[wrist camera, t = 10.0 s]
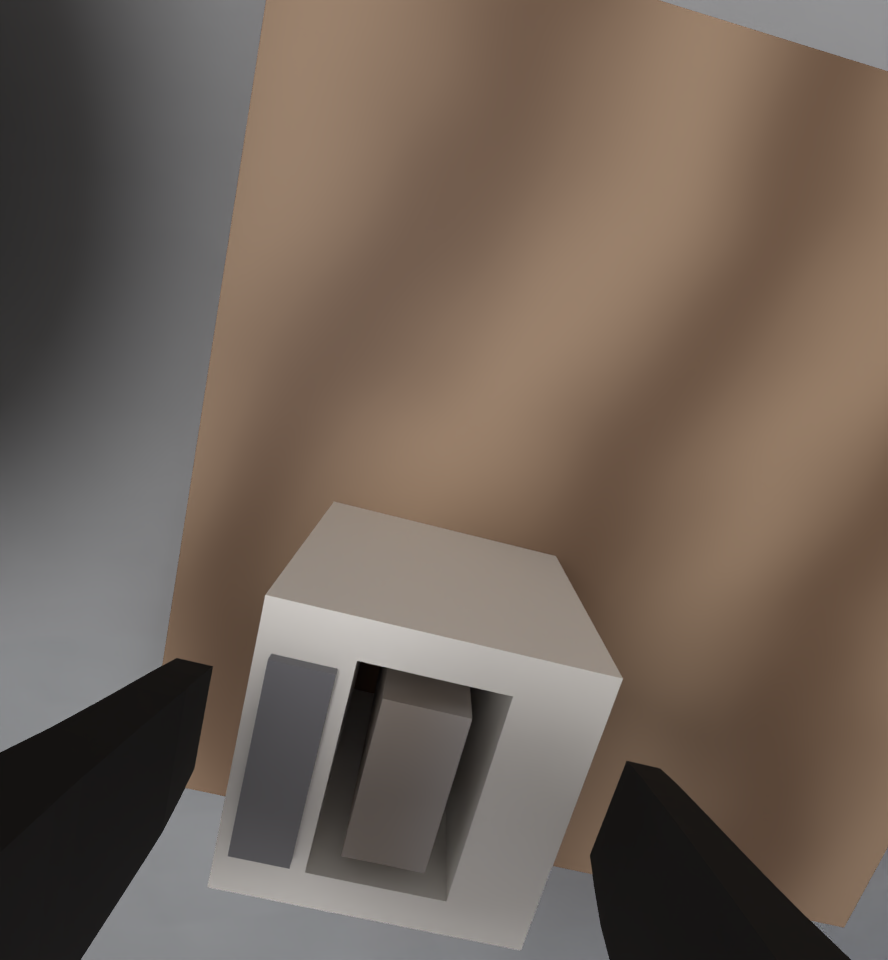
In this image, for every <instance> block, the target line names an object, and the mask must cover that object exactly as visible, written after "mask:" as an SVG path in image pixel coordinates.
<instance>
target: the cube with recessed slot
mask: <svg viewBox="0 0 888 960" xmlns="http://www.w3.org/2000/svg"><path fill="white" fill-rule="evenodd" d="M360 662H365V663H369V664H373V665H378V666H382V667H387V668H391V669H395V670H400V671H404V672H408V673H413V674H417V675H421V676H426V677H430V678H434V679H439V680H443V681H448V682H452V683H456V684H461V685H465V686H469V687H470V694H471V707H472V722H471V725H470V728H469V732H468V735H467V738H466V741H465V745H464V748H463V751H462V754H461V758H460V761H459V764H458V767H457V770H456V774H455V777H454V780H453V783H452V787H451V790H450V793H449V796H448V800H447V803H446V806H445V809H444V812H443V816H442V819H441V822H440V825H439V829H438V832H437V835H436V838H435V842H434V845H433V848H432V851H431V854H430V858H429V861H428V864H427V867H426V871H425V873H420V872H415V871H411V870H406V869H401V868H396V867H391V866H387V865H382V864H377V863H372V862H367V861H363V860H358V859H353V858H348V857H343V856H341V854H342V849H343V844H344V839H345V835H346V830H347V825H348V820H349V815H350V810H351V805H352V800H353V795H354V790H355V786H356V781H357V776H358V771H359V766H360V761H361V756H362V751H363V746H364V742H365V737H366V732H367V727H368V722H369V717H370V712H371V707H372V702H373V697H374V693H370V692H365V691H361V690H356V689H354V687H355V683H356V679H357V675H358V671H359V667H360ZM622 680H623V678H622V676H621V674H620V672H619V670H618V669H617V667H616V665H615V663H614V661H613V660H612V658H611V656H610V654H609V652H608V650H607V649H606V647H605V645H604V643H603V641H602V639H601V638H600V636H599V634H598V632H597V630H596V628H595V627H594V625H593V623H592V621H591V619H590V617H589V616H588V614H587V612H586V610H585V608H584V607H583V605H582V603H581V601H580V599H579V597H578V596H577V594H576V592H575V590H574V588H573V586H572V585H571V583H570V581H569V579H568V577H567V575H566V574H565V572H564V570H563V568H562V566H561V564H560V563H559V561H558V559H557V557H556V556H553V555H549V554H545V553H541V552H537V551H533V550H529V549H525V548H521V547H517V546H513V545H509V544H505V543H501V542H497V541H492V540H488V539H484V538H480V537H476V536H472V535H468V534H464V533H460V532H456V531H452V530H448V529H444V528H440V527H436V526H431V525H427V524H423V523H419V522H415V521H411V520H407V519H403V518H399V517H395V516H391V515H387V514H383V513H379V512H375V511H371V510H366V509H362V508H358V507H354V506H350V505H346V504H342V503H338V502H333V504H332V505H331V506H330V508H329V509H328V510H327V512H326V513H325V514H324V516H323V517H322V518H321V520H320V521H319V523H318V524H317V525H316V527H315V528H314V529H313V531H312V532H311V533H310V535H309V536H308V538H307V539H306V540H305V542H304V543H303V544H302V546H301V547H300V548H299V550H298V551H297V552H296V554H295V555H294V557H293V558H292V559H291V561H290V562H289V563H288V565H287V566H286V567H285V569H284V570H283V571H282V573H281V574H280V576H279V577H278V578H277V580H276V581H275V582H274V584H273V585H272V586H271V588H270V589H269V591H268V592H267V593H266V595H265V599H264V604H263V609H262V614H261V619H260V624H259V629H258V634H257V639H256V645H255V650H254V655H253V660H252V665H251V670H250V675H249V680H248V685H247V690H246V695H245V700H244V705H243V710H242V715H241V720H240V725H239V730H238V736H237V741H236V746H235V751H234V756H233V761H232V766H231V771H230V776H229V781H228V786H227V791H226V796H225V801H224V806H223V811H222V816H221V821H220V827H219V832H218V837H217V842H216V847H215V852H214V857H213V862H212V867H211V872H210V877H209V882H208V888H213V889H218V890H223V891H228V892H233V893H238V894H243V895H248V896H253V897H258V898H263V899H268V900H273V901H278V902H283V903H288V904H292V905H297V906H302V907H307V908H312V909H317V910H322V911H327V912H332V913H337V914H342V915H347V916H352V917H357V918H362V919H367V920H372V921H377V922H382V923H386V924H391V925H396V926H401V927H406V928H411V929H416V930H421V931H426V932H431V933H436V934H441V935H446V936H451V937H456V938H461V939H466V940H471V941H476V942H481V943H485V944H490V945H495V946H500V947H505V948H510V949H515V950H520V951H521V949H522V947H523V944H524V941H525V939H526V936H527V933H528V931H529V928H530V925H531V923H532V920H533V917H534V915H535V912H536V909H537V907H538V904H539V901H540V899H541V896H542V893H543V891H544V888H545V885H546V883H547V880H548V877H549V875H550V872H551V869H552V867H553V864H554V861H555V859H556V856H557V853H558V851H559V848H560V845H561V843H562V840H563V837H564V835H565V832H566V829H567V827H568V824H569V821H570V819H571V816H572V813H573V811H574V808H575V805H576V803H577V800H578V797H579V795H580V792H581V789H582V787H583V784H584V781H585V779H586V776H587V773H588V771H589V768H590V765H591V763H592V760H593V757H594V755H595V752H596V749H597V747H598V744H599V741H600V739H601V736H602V733H603V731H604V728H605V725H606V723H607V720H608V717H609V715H610V712H611V709H612V707H613V704H614V701H615V699H616V696H617V693H618V691H619V688H620V685H621V683H622Z"/></svg>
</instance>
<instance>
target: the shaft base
mask: <svg viewBox="0 0 888 960" xmlns="http://www.w3.org/2000/svg"><path fill="white" fill-rule="evenodd" d="M333 502H338V503H342V504H346V505H350V506H354V507H358V508H362V509H366V510H371V511H375V512H379V513H383V514H387V515H391V516H395V517H399V518H403V519H407V520H411V521H415V522H419V523H423V524H427V525H431V526H436V527H440V528H444V529H448V530H452V531H456V532H460V533H464V534H468V535H472V536H476V537H480V538H484V539H488V540H492V541H497V542H501V543H505V544H509V545H513V546H517V547H521V548H525V549H529V550H533V551H537V552H541V553H545V554H549V555H553V556H556V557H557V559H558V561H559V563H560V564H561V566H562V568H563V570H564V572H565V574H566V575H567V577H568V579H569V581H570V583H571V585H572V586H573V588H574V590H575V592H576V594H577V596H578V597H579V599H580V601H581V603H582V605H583V607H584V608H585V610H586V612H587V614H588V616H589V617H590V619H591V621H592V623H593V625H594V627H595V628H596V630H597V632H598V634H599V636H600V638H601V639H602V641H603V643H604V645H605V647H606V649H607V650H608V652H609V654H610V656H611V658H612V660H613V661H614V663H615V665H616V667H617V669H618V670H619V672H620V674H621V676H622V678H623V680H622V683H621V685H620V688H619V691H618V693H617V696H616V699H615V701H614V704H613V707H612V709H611V712H610V715H609V717H608V720H607V723H606V725H605V728H604V731H603V733H602V736H601V739H600V741H599V744H598V747H597V749H596V752H595V755H594V757H593V760H592V763H591V765H590V768H589V771H588V773H587V776H586V779H585V781H584V784H583V787H582V789H581V792H580V795H579V797H578V800H577V803H576V805H575V808H574V811H573V813H572V816H571V819H570V821H569V824H568V827H567V829H566V832H565V835H564V837H563V840H562V843H561V845H560V848H559V851H558V853H557V856H556V859H555V861H554V864H553V866H556V867H561V868H566V869H570V870H575V871H580V872H585V873H589V874H592V867H591V860H590V853H591V851H592V848H593V846H594V843H595V840H596V838H597V835H598V833H599V830H600V828H601V825H602V822H603V820H604V817H605V815H606V812H607V810H608V807H609V805H610V802H611V799H612V797H613V794H614V792H615V789H616V787H617V784H618V781H619V779H620V776H621V774H622V771H623V769H624V766H625V763H626V761H630V762H635V763H639V764H644V765H648V766H652V767H657V768H660V769H662V770H663V771H664V772H665V773H666V774H667V775H668V776H669V777H670V778H671V779H672V780H673V781H674V782H675V783H676V784H678V785H679V786H680V787H681V788H682V789H683V790H684V791H685V792H686V793H687V795H688V796H689V797H690V798H691V799H692V800H693V801H694V802H695V803H696V804H697V805H698V806H699V807H700V808H701V809H702V810H703V811H704V812H705V813H706V814H707V815H708V816H709V817H710V818H711V819H712V820H713V821H714V823H715V824H716V825H717V826H718V827H719V828H720V829H721V830H722V831H723V832H724V833H725V834H726V835H727V836H728V837H729V838H730V839H731V840H732V841H733V842H734V843H735V845H736V846H737V847H738V848H739V849H740V850H741V851H742V852H743V853H744V854H745V855H746V856H747V857H748V858H749V859H750V860H751V861H752V862H753V863H754V864H755V865H756V866H757V867H758V868H759V869H760V870H761V872H762V873H763V874H764V875H765V876H766V877H767V878H768V879H769V880H770V881H771V882H772V883H773V884H774V885H775V886H776V887H777V888H778V889H779V890H780V891H781V892H782V893H783V894H784V895H785V896H786V897H787V898H788V899H789V900H790V901H791V902H792V903H793V904H794V905H795V906H796V907H797V908H798V909H799V910H800V911H801V912H802V913H803V914H804V915H805V916H806V917H807V918H808V919H809V920H811V921H816V922H820V923H825V924H830V925H834V926H839V927H845V925H846V923H847V921H848V919H849V918H850V916H851V914H852V912H853V910H854V908H855V907H856V905H857V903H858V901H859V899H860V897H861V896H862V894H863V892H864V890H865V888H866V886H867V884H868V883H869V881H870V879H871V877H872V875H873V873H874V872H875V870H876V868H877V866H878V864H879V862H880V861H881V859H882V857H883V855H884V853H885V851H886V850H887V848H888V71H885V70H882V69H878V68H875V67H872V66H869V65H866V64H862V63H859V62H856V61H853V60H849V59H846V58H843V57H840V56H837V55H833V54H830V53H827V52H824V51H820V50H817V49H814V48H811V47H808V46H804V45H801V44H798V43H795V42H791V41H788V40H785V39H782V38H779V37H775V36H772V35H769V34H766V33H763V32H759V31H756V30H753V29H750V28H746V27H743V26H740V25H737V24H734V23H730V22H727V21H724V20H721V19H717V18H714V17H711V16H708V15H705V14H701V13H698V12H695V11H692V10H688V9H685V8H682V7H679V6H676V5H672V4H669V3H666V2H663V1H660V0H266V4H265V11H264V17H263V23H262V30H261V36H260V43H259V49H258V56H257V62H256V68H255V75H254V81H253V88H252V94H251V100H250V107H249V113H248V120H247V126H246V132H245V139H244V145H243V152H242V158H241V164H240V171H239V177H238V184H237V190H236V196H235V203H234V209H233V216H232V222H231V229H230V235H229V241H228V248H227V254H226V261H225V267H224V273H223V280H222V286H221V293H220V299H219V305H218V312H217V318H216V325H215V331H214V337H213V344H212V350H211V357H210V363H209V369H208V376H207V382H206V389H205V395H204V402H203V408H202V414H201V421H200V427H199V434H198V440H197V446H196V453H195V459H194V466H193V472H192V478H191V485H190V491H189V498H188V504H187V510H186V517H185V523H184V530H183V536H182V542H181V549H180V555H179V562H178V568H177V575H176V581H175V587H174V594H173V600H172V607H171V613H170V619H169V626H168V632H167V639H166V645H165V651H164V658H163V664H162V666H163V665H164V664H166V663H168V662H170V661H172V660H174V659H176V658H179V659H184V660H188V661H193V662H197V663H201V664H206V665H210V666H213V669H212V675H211V680H210V686H209V691H208V697H207V702H206V708H205V713H204V719H203V724H202V730H201V736H200V741H199V747H198V752H197V758H196V763H195V769H194V771H193V773H192V775H191V777H190V779H189V781H188V783H187V785H186V787H185V788H189V789H193V790H198V791H203V792H208V793H212V794H217V795H222V796H226V791H227V786H228V781H229V776H230V771H231V766H232V761H233V756H234V751H235V746H236V741H237V736H238V730H239V725H240V720H241V715H242V710H243V705H244V700H245V695H246V690H247V685H248V680H249V675H250V670H251V665H252V660H253V655H254V650H255V645H256V639H257V634H258V629H259V624H260V619H261V614H262V609H263V604H264V599H265V595H266V593H267V592H268V591H269V589H270V588H271V586H272V585H273V584H274V582H275V581H276V580H277V578H278V577H279V576H280V574H281V573H282V571H283V570H284V569H285V567H286V566H287V565H288V563H289V562H290V561H291V559H292V558H293V557H294V555H295V554H296V552H297V551H298V550H299V548H300V547H301V546H302V544H303V543H304V542H305V540H306V539H307V538H308V536H309V535H310V533H311V532H312V531H313V529H314V528H315V527H316V525H317V524H318V523H319V521H320V520H321V518H322V517H323V516H324V514H325V513H326V512H327V510H328V509H329V508H330V506H331V505H332V504H333ZM354 689H356V690H361V691H365V692H370V693H374V697H373V702H372V707H371V712H370V717H369V722H368V727H367V732H366V737H365V742H364V746H363V751H362V756H361V761H360V766H359V771H358V776H357V781H356V786H355V790H354V795H353V800H352V805H351V810H350V815H349V820H348V825H347V830H346V835H345V839H344V844H343V849H342V854H341V856H343V857H348V858H353V859H358V860H363V861H367V862H372V863H377V864H382V865H387V866H391V867H396V868H401V869H406V870H411V871H415V872H420V873H425V871H426V867H427V864H428V861H429V858H430V854H431V851H432V848H433V845H434V842H435V838H436V835H437V832H438V829H439V825H440V822H441V819H442V816H443V812H444V809H445V806H446V803H447V800H448V796H449V793H450V790H451V787H452V783H453V780H454V777H455V774H456V770H457V767H458V764H459V761H460V758H461V754H462V751H463V748H464V745H465V741H466V738H467V735H468V732H469V728H470V725H471V722H472V707H471V694H470V687H469V686H465V685H461V684H456V683H452V682H448V681H443V680H439V679H434V678H430V677H426V676H421V675H417V674H413V673H408V672H404V671H400V670H395V669H391V668H387V667H382V666H378V665H373V664H369V663H365V662H360V667H359V671H358V675H357V679H356V683H355V687H354Z"/></svg>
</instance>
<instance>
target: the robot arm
mask: <svg viewBox="0 0 888 960" xmlns="http://www.w3.org/2000/svg"><path fill="white" fill-rule="evenodd" d="M212 669H213V666H210V665H206V664H201V663H197V662H193V661H188V660H184V659H179V658H176V659H174V660H172V661H170V662H168V663H166V664H164V665H163V666H161V667H159V668H157V669H155V670H154V671H152V672H150V673H148V674H147V675H145V676H143V677H141V678H139V679H138V680H136V681H134V682H132V683H131V684H129V685H127V686H125V687H124V688H122V689H120V690H118V691H116V692H115V693H113V694H111V695H109V696H108V697H106V698H104V699H102V700H100V701H99V702H97V703H95V704H93V705H91V706H89V707H88V708H86V709H84V710H82V711H80V712H78V713H77V714H75V715H73V716H71V717H69V718H67V719H65V720H64V721H62V722H60V723H58V724H56V725H54V726H53V727H51V728H49V729H47V730H45V731H43V732H41V733H39V734H37V735H35V736H33V737H31V738H29V739H27V740H25V741H23V742H21V743H19V744H17V745H15V746H13V747H10V748H8V749H6V750H4V751H2V752H0V960H81V958H82V957H83V955H84V954H85V952H86V951H87V949H88V947H89V946H90V944H91V943H92V941H93V940H94V938H95V937H96V935H97V934H98V932H99V930H100V929H101V927H102V926H103V924H104V923H105V921H106V920H107V918H108V917H109V915H110V913H111V912H112V910H113V909H114V907H115V906H116V904H117V903H118V901H119V899H120V898H121V896H122V895H123V893H124V892H125V890H126V889H127V887H128V886H129V884H130V882H131V881H132V879H133V878H134V876H135V875H136V873H137V871H138V870H139V868H140V867H141V865H142V864H143V862H144V861H145V859H146V857H147V856H148V854H149V853H150V851H151V850H152V848H153V846H154V845H155V843H156V842H157V840H158V838H159V837H160V835H161V834H162V832H163V830H164V828H165V826H166V824H167V822H168V820H169V818H170V817H171V815H172V813H173V811H174V809H175V807H176V805H177V803H178V801H179V799H180V797H181V795H182V793H183V791H184V789H185V787H186V785H187V783H188V781H189V779H190V777H191V775H192V773H193V771H194V769H195V763H196V758H197V752H198V747H199V741H200V736H201V730H202V724H203V719H204V713H205V708H206V702H207V697H208V691H209V686H210V680H211V675H212ZM590 860H591V867H592V874H593V881H594V888H595V895H596V901H597V906H598V912H599V918H600V924H601V928H602V932H603V936H604V940H605V944H606V948H607V951H608V955H609V959H610V960H851V959H850V958H849V957H848V956H847V955H845V954H844V953H843V952H842V951H841V950H840V949H839V948H838V947H837V946H836V945H835V944H834V943H833V942H832V941H831V940H830V939H829V938H828V937H827V936H826V935H825V934H824V933H823V932H822V931H821V930H820V929H818V928H817V927H816V926H815V925H814V924H813V923H812V922H811V921H810V920H809V919H808V918H807V917H806V916H805V915H804V914H803V913H802V912H801V911H800V910H799V909H798V908H797V907H796V906H795V905H794V904H793V903H792V902H791V901H790V900H789V899H788V898H787V897H786V896H785V895H784V894H783V893H782V892H781V891H780V890H779V889H778V888H777V887H776V886H775V885H774V884H773V883H772V882H771V881H770V880H769V879H768V878H767V877H766V876H765V875H764V874H763V873H762V872H761V870H760V869H759V868H758V867H757V866H756V865H755V864H754V863H753V862H752V861H751V860H750V859H749V858H748V857H747V856H746V855H745V854H744V853H743V852H742V851H741V850H740V849H739V848H738V847H737V846H736V845H735V843H734V842H733V841H732V840H731V839H730V838H729V837H728V836H727V835H726V834H725V833H724V832H723V831H722V830H721V829H720V828H719V827H718V826H717V825H716V824H715V823H714V821H713V820H712V819H711V818H710V817H709V816H708V815H707V814H706V813H705V812H704V811H703V810H702V809H701V808H700V807H699V806H698V805H697V804H696V803H695V802H694V801H693V800H692V799H691V798H690V797H689V796H688V795H687V793H686V792H685V791H684V790H683V789H682V788H681V787H680V786H679V785H678V784H676V783H675V782H674V781H673V780H672V779H671V778H670V777H669V776H668V775H667V774H666V773H665V772H664V771H663V770H662V769H660V768H657V767H652V766H648V765H644V764H639V763H635V762H630V761H626V763H625V766H624V769H623V771H622V774H621V776H620V779H619V781H618V784H617V787H616V789H615V792H614V794H613V797H612V799H611V802H610V805H609V807H608V810H607V812H606V815H605V817H604V820H603V822H602V825H601V828H600V830H599V833H598V835H597V838H596V840H595V843H594V846H593V848H592V851H591V853H590Z"/></svg>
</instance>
